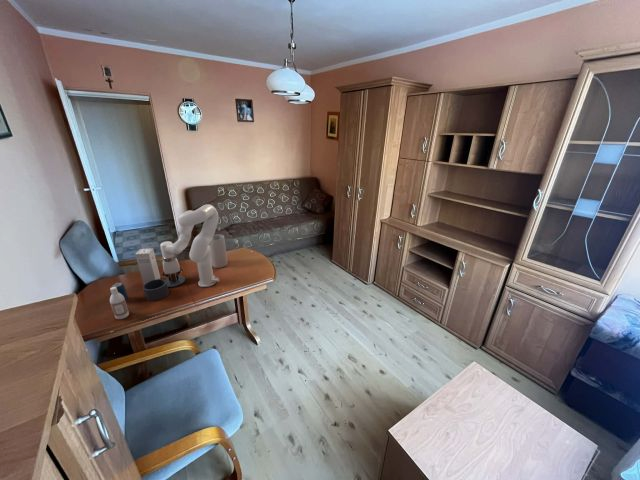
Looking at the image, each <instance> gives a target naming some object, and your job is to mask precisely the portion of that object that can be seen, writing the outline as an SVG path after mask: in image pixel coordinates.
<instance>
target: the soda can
mask: <svg viewBox="0 0 640 480" xmlns="http://www.w3.org/2000/svg"><path fill="white" fill-rule="evenodd" d="M112 287H116V288H117V291H118V293H120V294H122V295H123V296H124V298H125V301H126V302H127V299H128V298H129V295H128V293H127V290H126V287H125V284H124V283H123V282H121V281H117V282H114V283H112V284H111V286H110V288H112Z"/></svg>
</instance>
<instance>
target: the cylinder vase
mask: <svg viewBox="0 0 640 480" xmlns="http://www.w3.org/2000/svg"><path fill="white" fill-rule="evenodd" d="M209 246H210V250H211V263H212V268H215V269H220V268H224V267H226V266H228V265H229V264H228V262H229V261H228V254H227V248H226V239H225V235H224V234H217V233H216V234H214V237H213V240H212V242H211V243H210V244H209Z"/></svg>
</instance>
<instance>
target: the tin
mask: <svg viewBox="0 0 640 480" xmlns="http://www.w3.org/2000/svg"><path fill="white" fill-rule="evenodd" d="M142 290H143V294H144V297H145V299H146V300H147V301H148V302H155V301H159V300H162V299H165V298H166V297H167V296H168V295H169V293H170V290H169V287H168V286H167V282H166V279H163V278H160V279H156V280H152V281H149V282H147V283H145V284H143V285H142Z"/></svg>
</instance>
